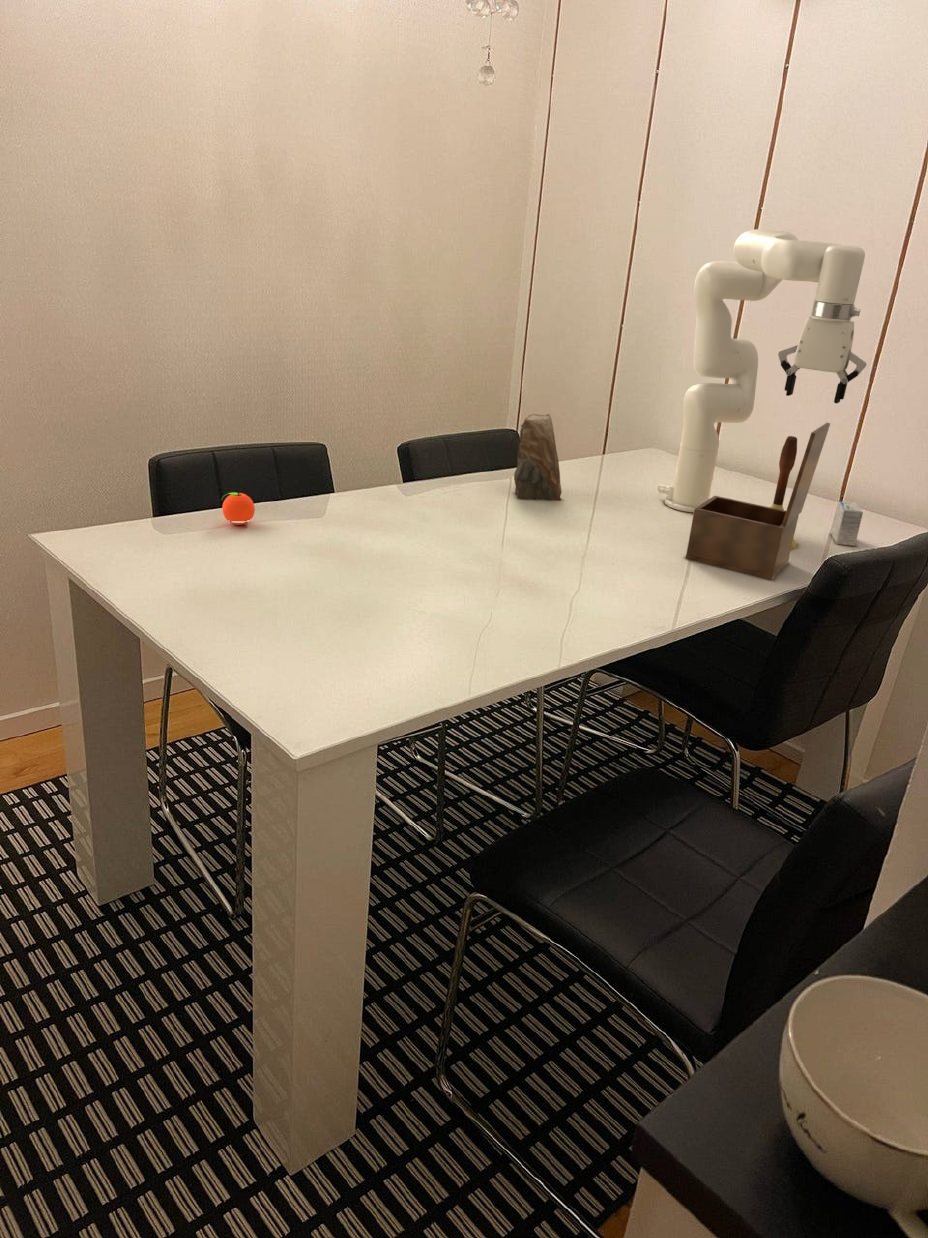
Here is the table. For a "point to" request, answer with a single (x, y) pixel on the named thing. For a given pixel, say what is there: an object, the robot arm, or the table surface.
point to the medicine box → (847, 523)
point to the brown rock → (537, 460)
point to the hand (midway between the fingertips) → (812, 398)
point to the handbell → (785, 473)
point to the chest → (741, 537)
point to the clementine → (238, 508)
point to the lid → (806, 473)
